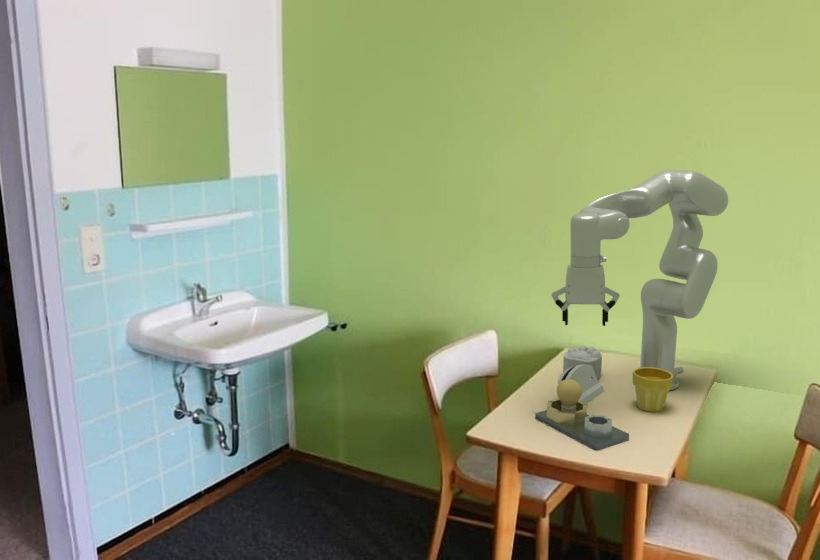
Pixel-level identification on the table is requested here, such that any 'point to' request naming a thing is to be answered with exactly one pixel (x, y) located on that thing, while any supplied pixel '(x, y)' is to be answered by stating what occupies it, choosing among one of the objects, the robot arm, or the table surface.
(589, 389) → the white rounded block
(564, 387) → the light bulb
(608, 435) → the fitting plate
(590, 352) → the lumpy-topped squat cylinder
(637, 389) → the plant pot
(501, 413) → the table surface
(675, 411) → the table surface
